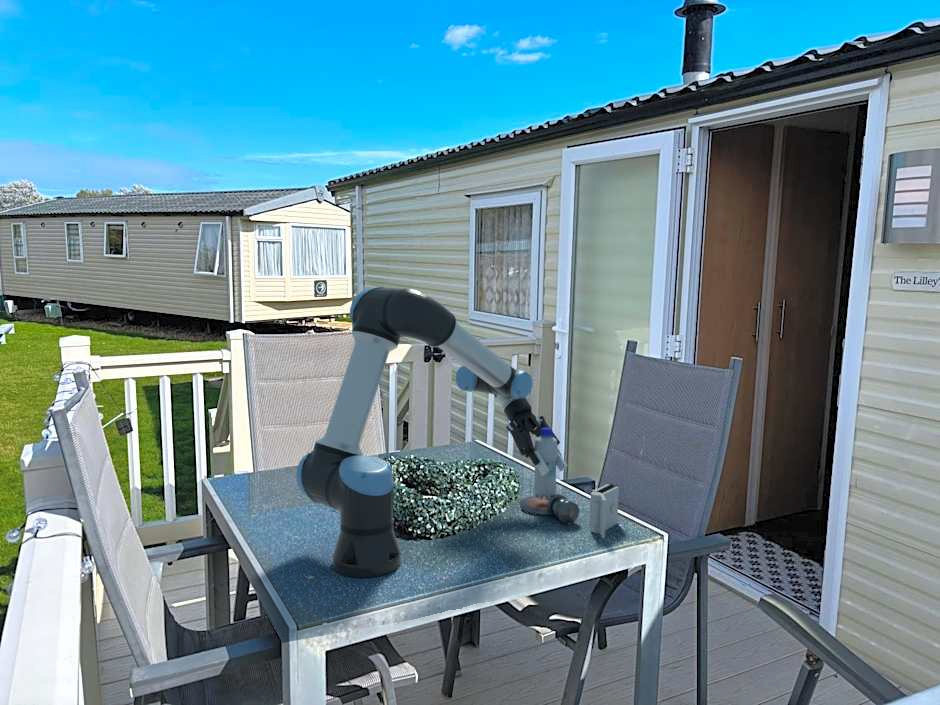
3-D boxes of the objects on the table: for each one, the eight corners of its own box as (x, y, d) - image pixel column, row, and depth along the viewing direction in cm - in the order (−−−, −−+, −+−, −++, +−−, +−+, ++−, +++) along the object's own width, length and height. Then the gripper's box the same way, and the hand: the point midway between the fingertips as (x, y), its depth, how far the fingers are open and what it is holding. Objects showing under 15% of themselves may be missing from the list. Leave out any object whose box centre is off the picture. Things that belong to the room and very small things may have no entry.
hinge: (604, 539, 168) (605, 500, 166) (583, 536, 170) (584, 497, 169) (619, 521, 180) (620, 485, 179) (599, 518, 182) (600, 482, 181)
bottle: (552, 493, 194) (553, 424, 192) (560, 500, 188) (562, 429, 185) (529, 494, 193) (531, 425, 190) (536, 502, 186) (538, 430, 184)
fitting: (591, 520, 180) (592, 499, 180) (545, 527, 175) (545, 504, 174) (554, 497, 199) (555, 477, 199) (511, 502, 194) (511, 481, 194)
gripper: (530, 407, 206) (570, 471, 195) (483, 415, 193) (522, 485, 182) (544, 392, 201) (585, 457, 191) (496, 400, 188) (537, 470, 178)
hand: (554, 470), depth 187 cm, fingers closed on bottle, 7 cm apart
